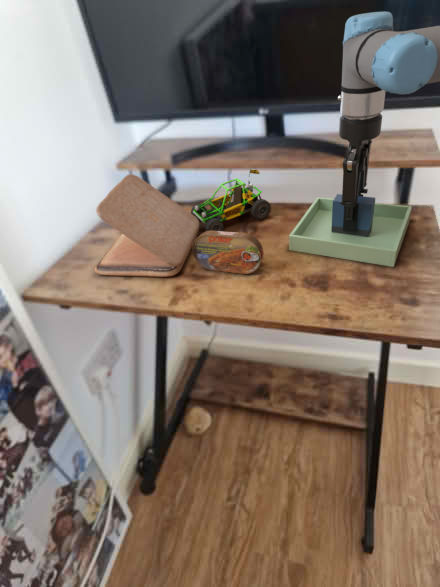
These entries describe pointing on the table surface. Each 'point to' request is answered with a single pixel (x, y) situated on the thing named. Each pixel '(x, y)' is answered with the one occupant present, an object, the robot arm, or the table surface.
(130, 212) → the case
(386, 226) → the tray
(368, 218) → the eraser
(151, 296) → the table surface
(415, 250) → the table surface
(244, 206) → the motor vehicle
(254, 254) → the tin
